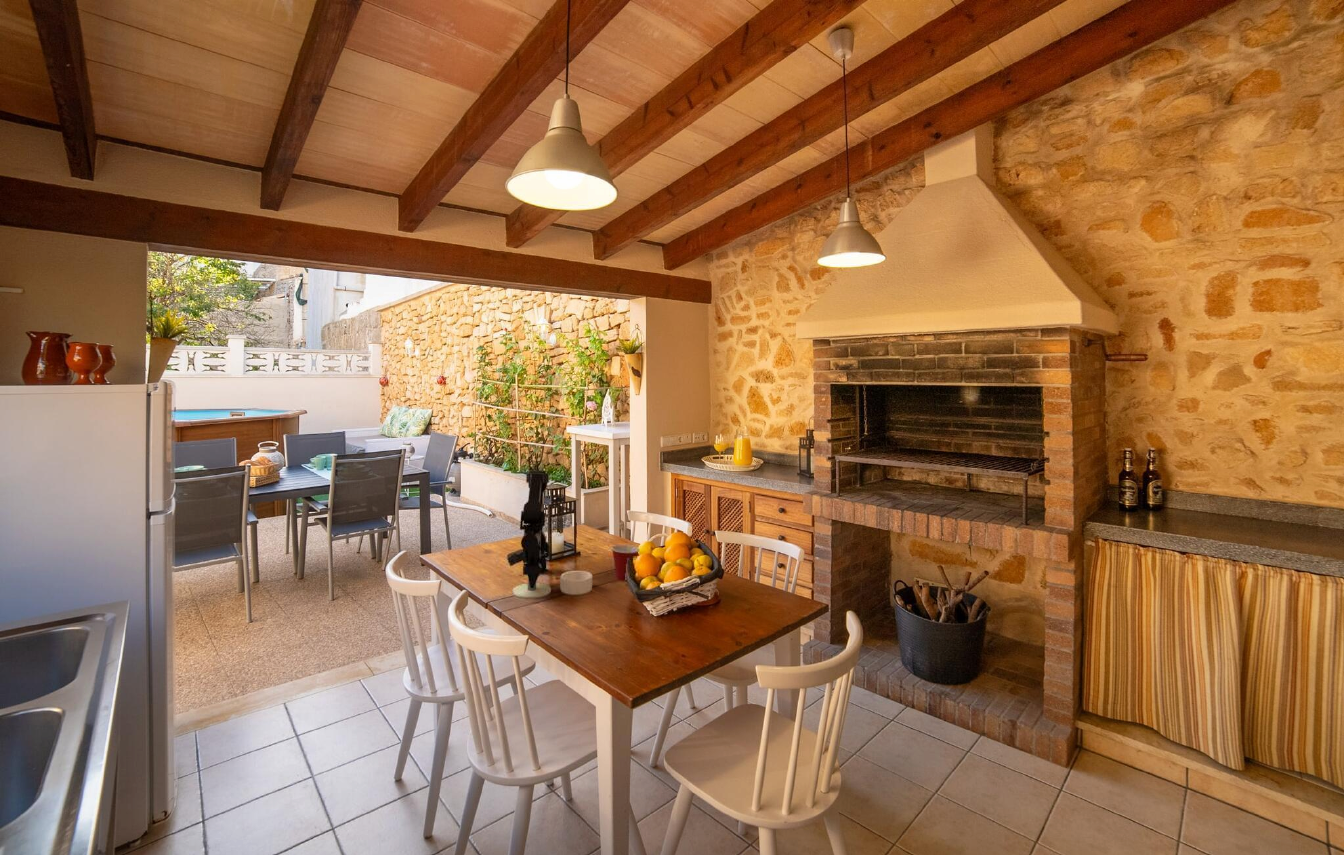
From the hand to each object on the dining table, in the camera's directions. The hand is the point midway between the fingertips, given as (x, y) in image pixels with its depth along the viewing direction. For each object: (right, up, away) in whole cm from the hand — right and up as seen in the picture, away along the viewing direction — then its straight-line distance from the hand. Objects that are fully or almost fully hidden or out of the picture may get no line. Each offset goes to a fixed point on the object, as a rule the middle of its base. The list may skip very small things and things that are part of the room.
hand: (531, 586), depth 210 cm
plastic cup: (+31, -2, +17) cm, 36 cm away
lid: (0, -2, 0) cm, 2 cm away
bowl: (+15, -2, +4) cm, 16 cm away
